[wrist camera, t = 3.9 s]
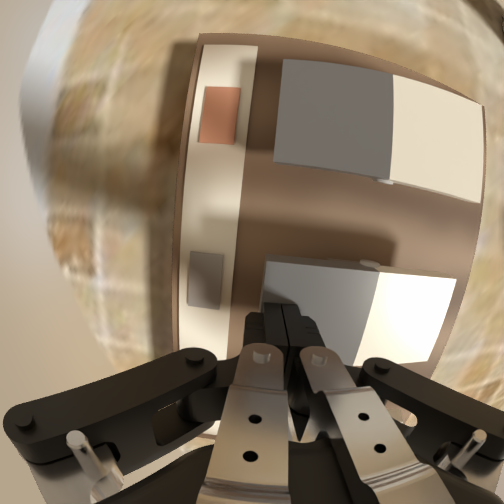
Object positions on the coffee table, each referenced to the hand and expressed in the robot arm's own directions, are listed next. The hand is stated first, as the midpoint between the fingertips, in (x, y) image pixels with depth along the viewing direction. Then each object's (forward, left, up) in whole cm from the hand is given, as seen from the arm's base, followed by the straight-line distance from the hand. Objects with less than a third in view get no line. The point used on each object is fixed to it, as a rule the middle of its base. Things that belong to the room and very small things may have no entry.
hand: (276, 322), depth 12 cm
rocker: (-9, +4, -1) cm, 10 cm away
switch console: (0, +4, -7) cm, 8 cm away
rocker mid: (0, +4, -1) cm, 4 cm away
